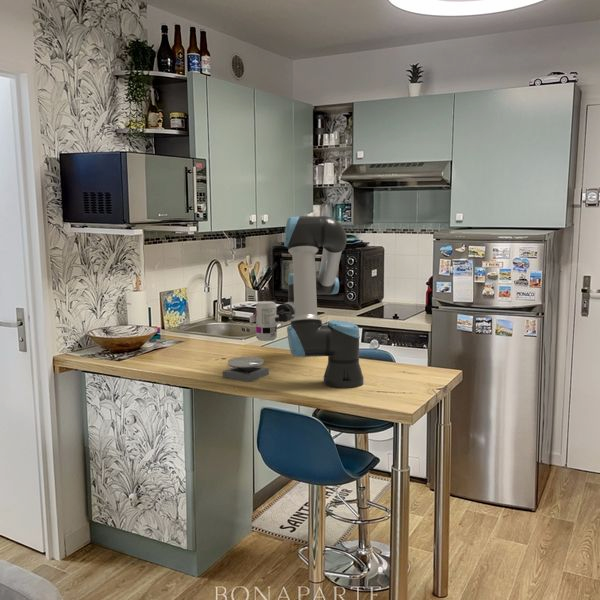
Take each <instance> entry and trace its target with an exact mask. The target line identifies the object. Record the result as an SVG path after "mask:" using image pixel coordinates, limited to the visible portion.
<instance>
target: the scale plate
mask: <svg viewBox="0 0 600 600" xmlns="http://www.w3.org/2000/svg"><path fill="white" fill-rule="evenodd" d="M263 365H264V359H263V358H262V357H257V356H238V357H233V358H230V359H228V360H227V366H229V367H230V368H233V367H236V368H241V371H244V372H243V373H246V372H247V371H251V368H252V367H262V366H263Z"/></svg>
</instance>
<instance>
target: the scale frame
mask: <svg viewBox="0 0 600 600" xmlns="http://www.w3.org/2000/svg"><path fill="white" fill-rule="evenodd" d="M269 371H270V368H269V367H265V366H264V367H263V366H258V367H252V368H251V371H247V372H249V373H246V372H244V371H241V368H236V367H230V368H227V369H225V370H223V371H222V379H230V380H235V381H240V382H241V381H242V382H249V383H250V382H254V381H255V380H258V379H261V378H263V377H266V376H268V375H269V374H270V372H269ZM260 377H261V378H260ZM253 380H254V381H253Z"/></svg>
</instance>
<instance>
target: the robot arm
mask: <svg viewBox="0 0 600 600" xmlns="http://www.w3.org/2000/svg"><path fill="white" fill-rule="evenodd" d="M284 232H285V233H284V244H283V246H284V247H285V248H287V249H288V253H289V254H290V255H291V256H292V257H291V258H292V272H291V273H290V274H289V275H288V277H287V278H288V279H287V280H288V281H287V283H288V284H287V285H288V286H287V287H288V288H287V293H288V300H287V302H285V303H281V304H278V305H277V306H276V316H273V317H269V324H274V323H280V322H281V323H286V322H290V325H288V326H287V329H286V331H287V341H288V347H289V351H290V353H291V355H292V356H293V357H296V358H311V357H312V358H313V357H315V358H316V357H327V359H328V360H327V365H326V367H325V371H324V375H323V384H324V385H326V386H327V387H332V388H339V389H341V388H342V389H343V388H344V389H346V388H356V387H360V386H362V385H364V381H365V379H364V375H363V373H362V368H361V365H360V337H361V336H360V329H359V326H358V325H357V324H355V323H353V322H349V321H344V320H329V321H328V322H327V325H326V324H323V320H322V319H321V318H320V317H319V315H318V302H317V301H318V300H317V295H329V296H331V295H336V294H338V293H339V290H340V281H339V278H338V277H337V274H338V271H339V265H340V261H341V257H342V252H343V251H344V250H345V249H346V246H347V242H348V241H347V239H348V237H347V233H346V230H345V229H344V227H343V225H342V223H340V222H339V221H338V220H336V219H335V218H333V217H332V216H328V215H327V216H326V215H322V216H318V215H317V216H316V215H315V216H314V215H311V216H309V215H307V216H306V215H304V216H303V215H298V216H290V217H288V219H287V220H286V225H285V231H284ZM320 247H322V248H323V249H322V255H321V259H320V260H321V261H320V266H319V270H318V275H317V277H316V274H317V273H316V255H317V253H318V252H319V248H320ZM249 323H250V324H251V323H256V312H253V314H251V315H249Z"/></svg>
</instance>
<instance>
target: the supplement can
mask: <svg viewBox="0 0 600 600" xmlns="http://www.w3.org/2000/svg"><path fill="white" fill-rule="evenodd" d="M276 308H277V305H276V302H275V301H270V300H269V301H268V300H267V301H266V300H263V301H258V302H257V303H256V305H255V313H256V322H255V337H256V339H257V340H258V341H261V342H269V341H270V342H271V341H275V340H276V339H277V337H278V336H277V335H278V332H277V323H278V322H277V323H274V324H269V317H273V316H276Z"/></svg>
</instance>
